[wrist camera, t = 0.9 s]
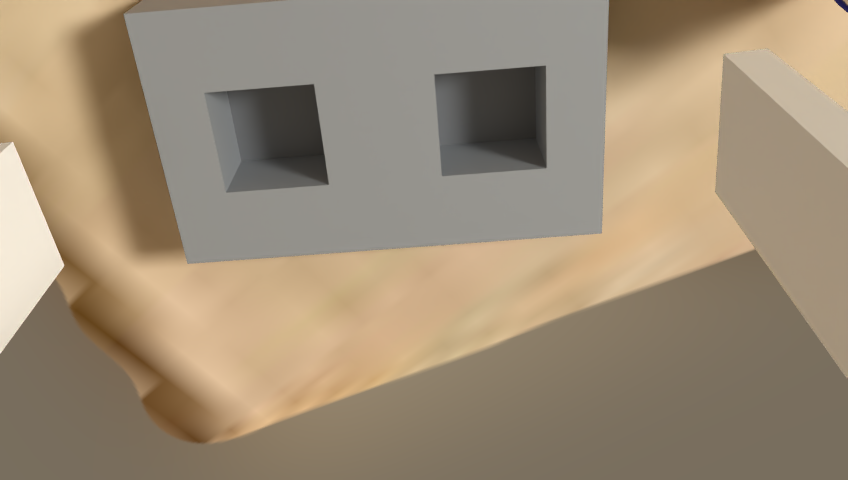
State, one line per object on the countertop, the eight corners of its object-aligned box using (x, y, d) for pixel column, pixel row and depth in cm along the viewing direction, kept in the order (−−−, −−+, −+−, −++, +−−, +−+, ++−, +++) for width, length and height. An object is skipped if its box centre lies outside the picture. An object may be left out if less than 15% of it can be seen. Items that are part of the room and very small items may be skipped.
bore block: (151, -7, 37) (123, 14, 33) (590, -44, 36) (609, -27, 32) (206, 225, 42) (187, 263, 39) (586, 196, 42) (601, 233, 38)
